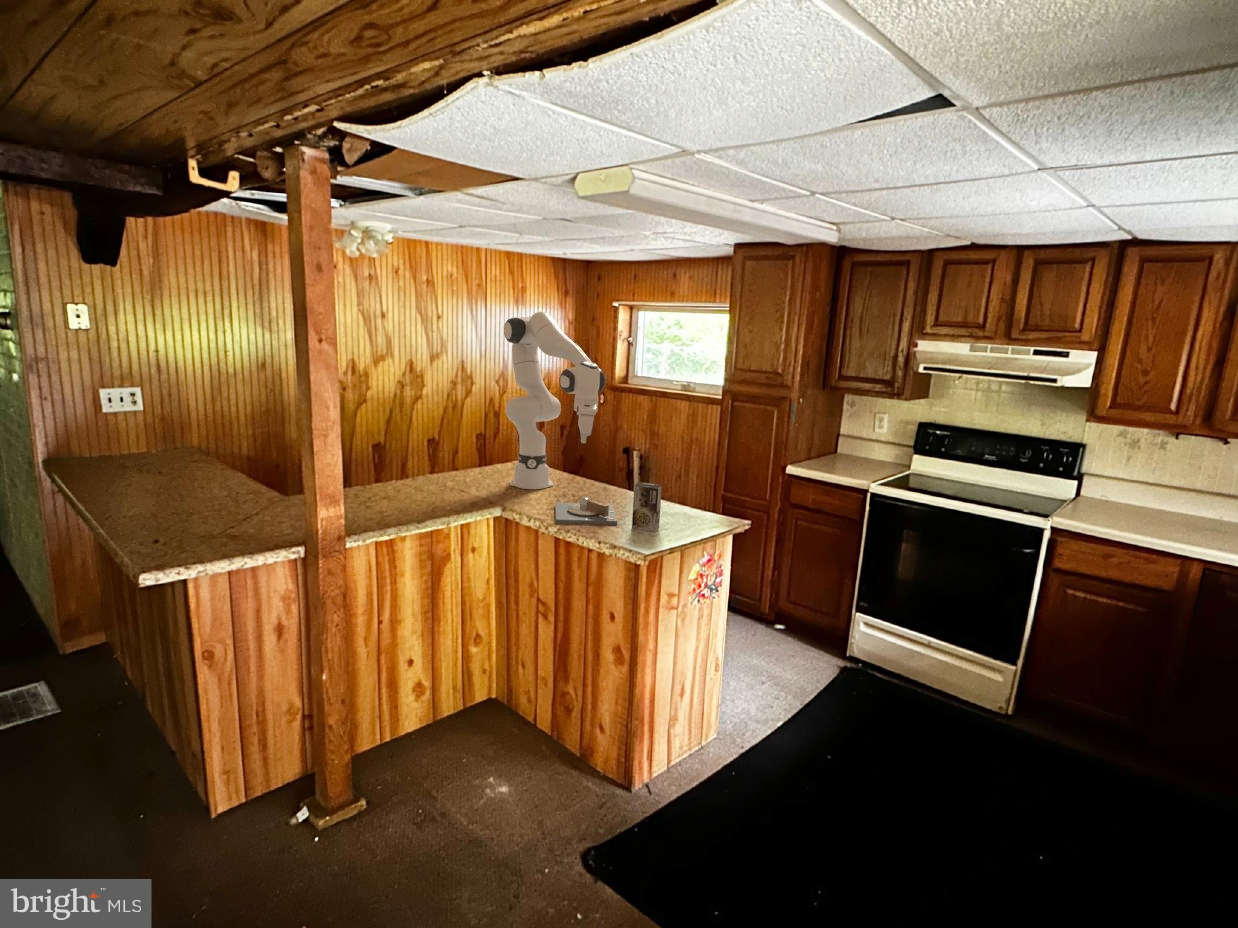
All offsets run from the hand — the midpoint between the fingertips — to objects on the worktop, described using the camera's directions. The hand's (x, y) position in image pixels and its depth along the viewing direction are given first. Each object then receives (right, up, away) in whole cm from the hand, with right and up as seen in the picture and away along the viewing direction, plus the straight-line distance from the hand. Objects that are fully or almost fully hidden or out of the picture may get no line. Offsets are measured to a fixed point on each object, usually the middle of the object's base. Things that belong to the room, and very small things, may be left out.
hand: (583, 442), depth 247 cm
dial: (+2, -26, -2) cm, 26 cm away
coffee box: (+23, -31, -12) cm, 41 cm away
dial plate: (+1, -27, 0) cm, 27 cm away
